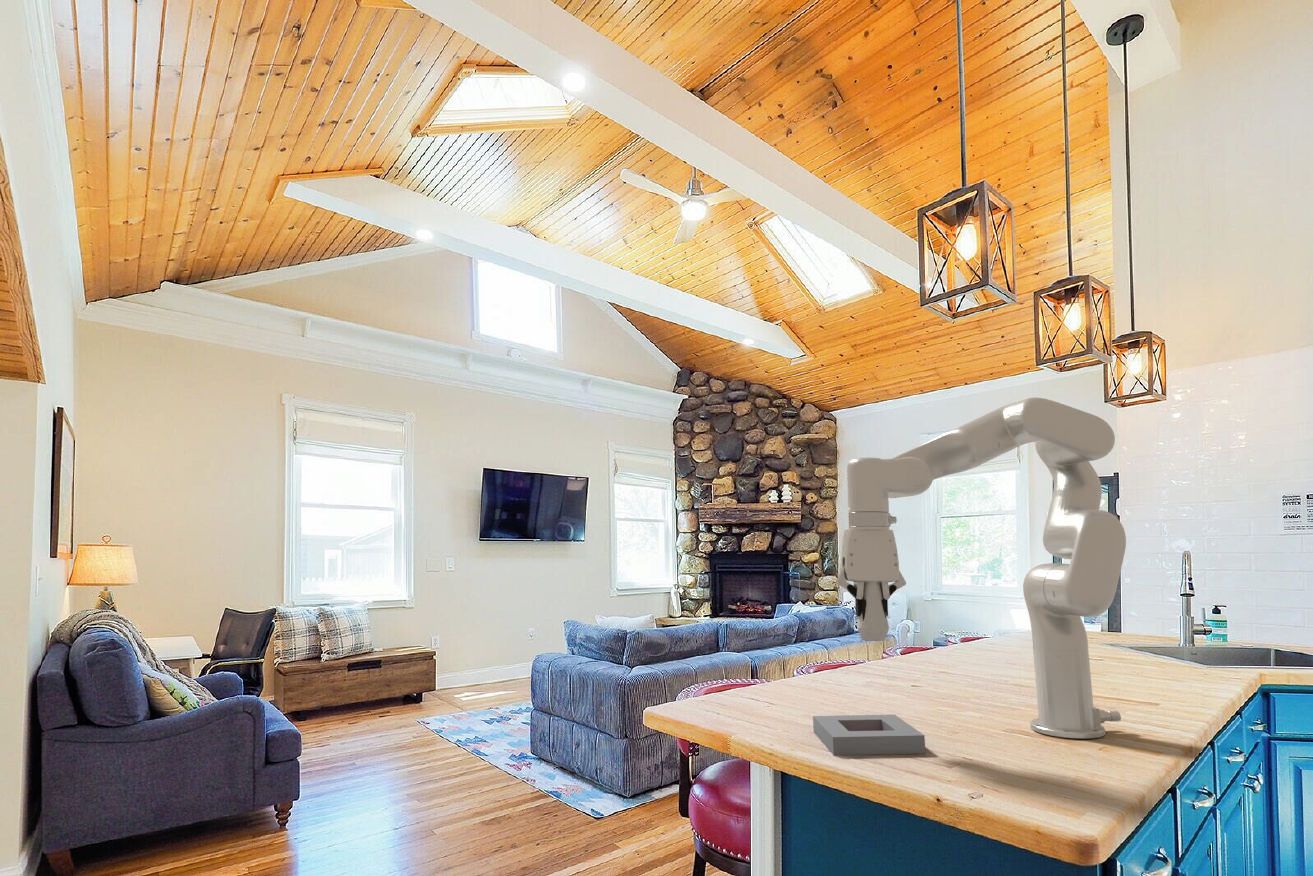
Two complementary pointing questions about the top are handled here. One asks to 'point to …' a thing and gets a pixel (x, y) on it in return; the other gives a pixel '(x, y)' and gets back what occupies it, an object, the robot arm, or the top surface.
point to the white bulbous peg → (873, 614)
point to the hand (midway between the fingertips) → (871, 619)
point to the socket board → (868, 735)
